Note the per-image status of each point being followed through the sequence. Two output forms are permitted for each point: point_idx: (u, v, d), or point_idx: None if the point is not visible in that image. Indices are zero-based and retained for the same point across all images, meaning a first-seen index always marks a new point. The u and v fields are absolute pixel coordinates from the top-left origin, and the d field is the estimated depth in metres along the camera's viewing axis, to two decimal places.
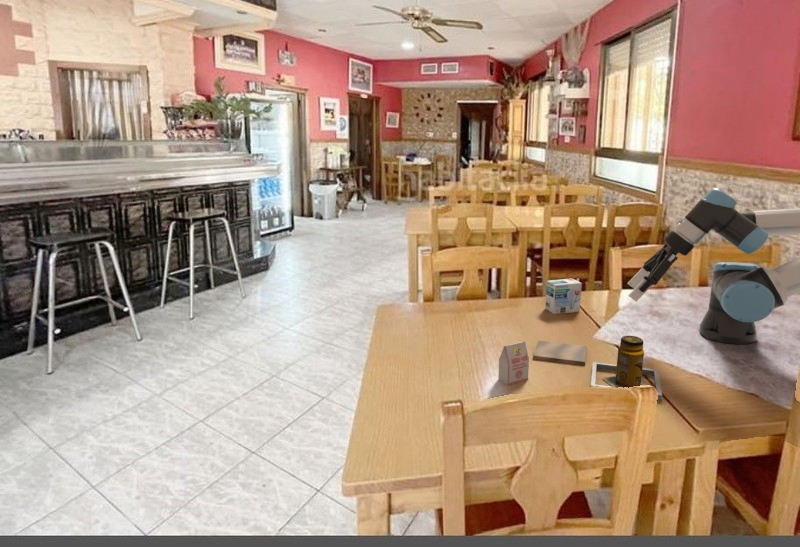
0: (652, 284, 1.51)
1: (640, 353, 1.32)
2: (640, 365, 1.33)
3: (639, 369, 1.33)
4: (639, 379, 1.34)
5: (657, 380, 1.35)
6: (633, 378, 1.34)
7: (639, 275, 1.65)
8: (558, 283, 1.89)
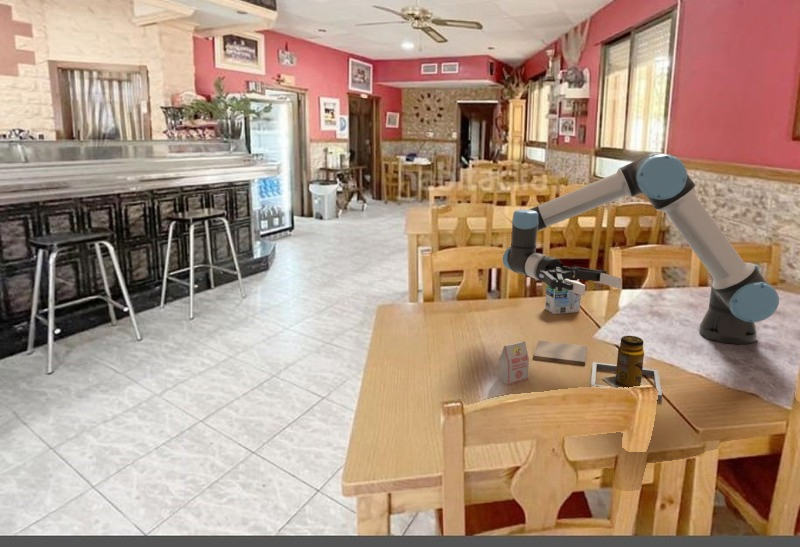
0: (560, 280, 1.41)
1: (640, 353, 1.32)
2: (640, 365, 1.33)
3: (639, 369, 1.33)
4: (639, 379, 1.34)
5: (657, 380, 1.35)
6: (633, 378, 1.34)
7: (606, 281, 1.47)
8: None
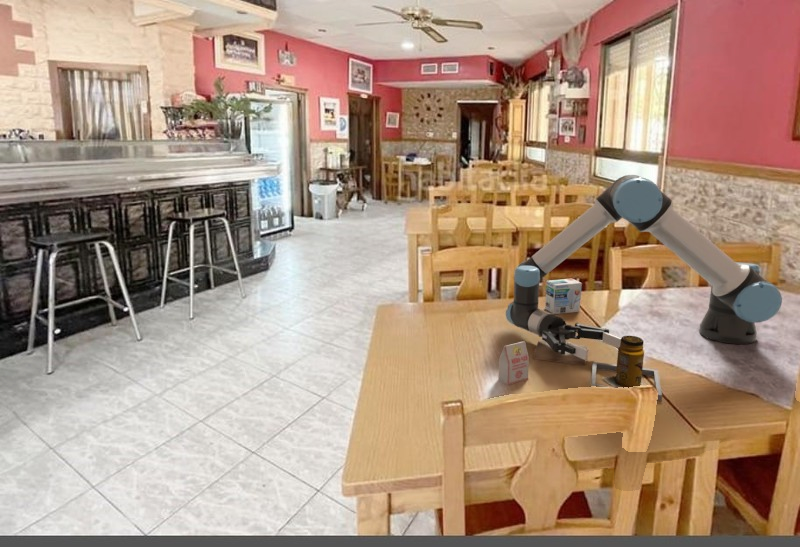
0: (563, 343, 1.43)
1: (640, 353, 1.32)
2: (640, 365, 1.33)
3: (639, 369, 1.33)
4: (639, 379, 1.34)
5: (657, 380, 1.35)
6: (633, 378, 1.34)
7: (608, 341, 1.48)
8: (558, 283, 1.89)
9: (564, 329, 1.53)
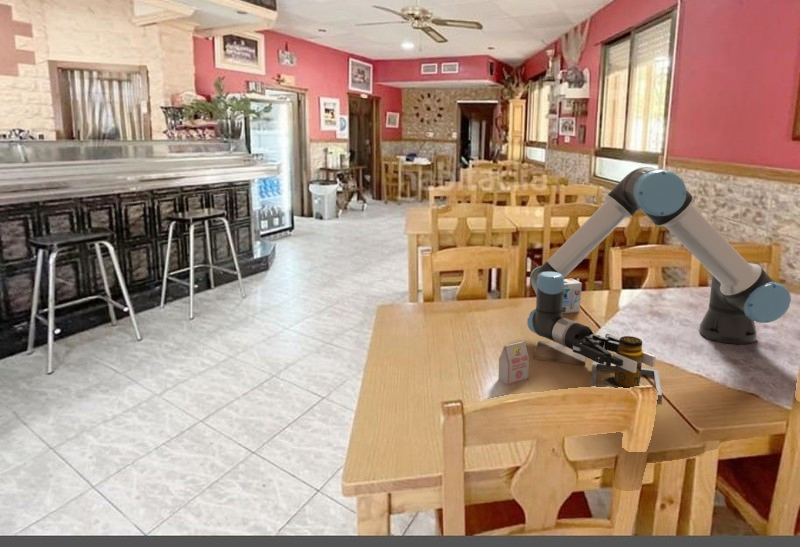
0: (610, 355, 1.34)
1: (639, 354, 1.32)
2: (639, 366, 1.33)
3: (638, 370, 1.33)
4: (638, 380, 1.34)
5: (657, 380, 1.35)
6: (632, 378, 1.33)
7: None
8: None
9: None
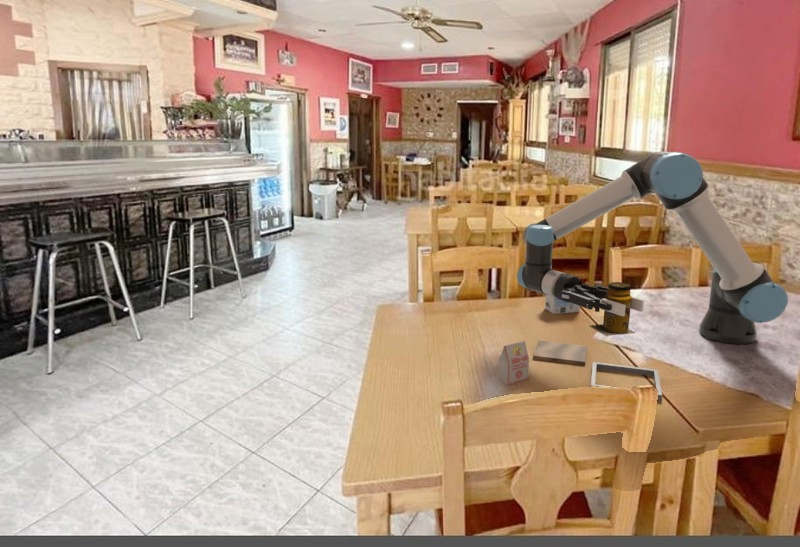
0: (598, 300, 1.34)
1: (627, 298, 1.32)
2: (627, 310, 1.33)
3: (626, 314, 1.33)
4: (626, 325, 1.34)
5: (657, 380, 1.35)
6: (620, 323, 1.33)
7: None
8: None
9: None
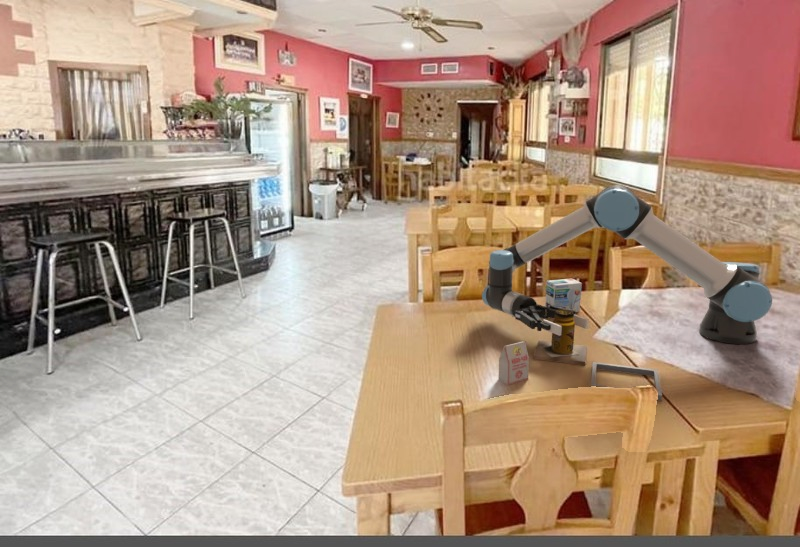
0: (539, 321, 1.52)
1: (570, 324, 1.50)
2: (571, 335, 1.51)
3: (570, 338, 1.51)
4: (570, 347, 1.52)
5: (657, 380, 1.35)
6: (565, 346, 1.51)
7: (574, 321, 1.56)
8: (558, 283, 1.89)
9: (534, 309, 1.62)
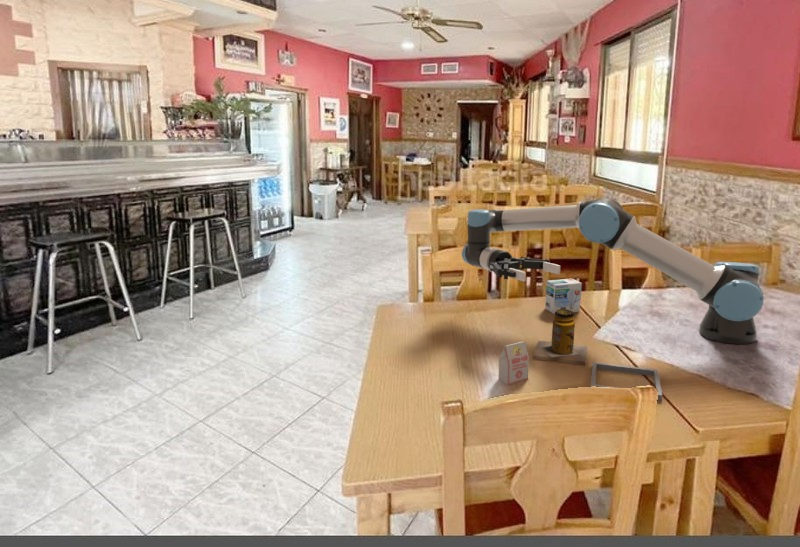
0: (505, 269, 1.61)
1: (570, 324, 1.50)
2: (571, 335, 1.51)
3: (570, 338, 1.51)
4: (570, 347, 1.52)
5: (657, 380, 1.35)
6: (565, 346, 1.51)
7: (547, 269, 1.66)
8: (558, 283, 1.89)
9: (509, 261, 1.71)
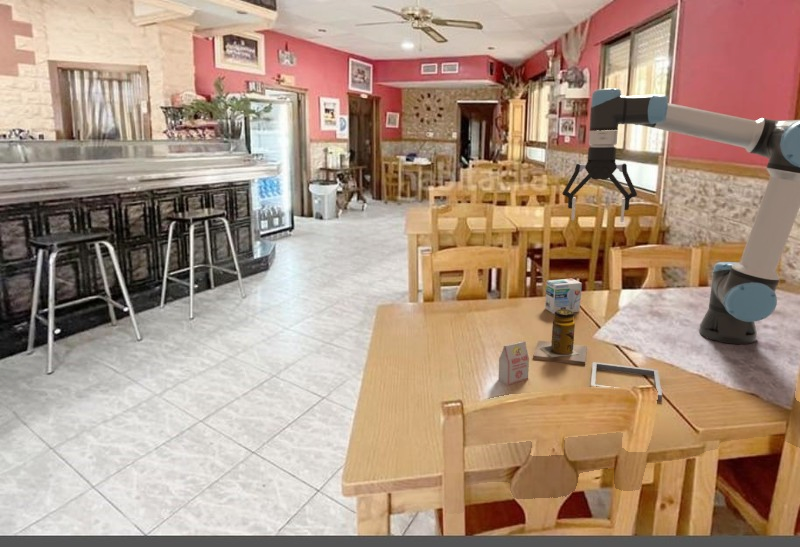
0: None
1: (570, 324, 1.50)
2: (571, 335, 1.51)
3: (570, 338, 1.51)
4: (570, 347, 1.52)
5: (657, 380, 1.35)
6: (565, 346, 1.51)
7: (574, 205, 1.59)
8: (558, 283, 1.89)
9: None
